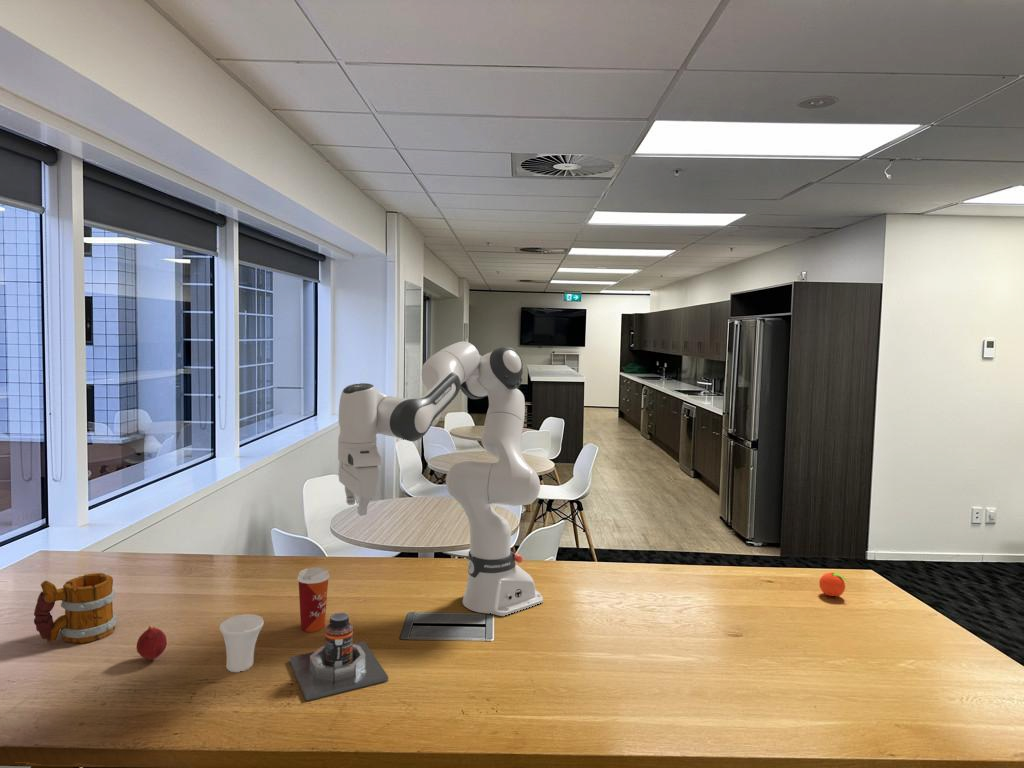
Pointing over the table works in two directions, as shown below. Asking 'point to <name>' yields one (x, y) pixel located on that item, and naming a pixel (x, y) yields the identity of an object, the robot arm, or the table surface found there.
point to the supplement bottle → (338, 641)
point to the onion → (151, 643)
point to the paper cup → (313, 598)
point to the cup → (240, 640)
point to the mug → (77, 609)
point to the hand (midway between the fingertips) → (356, 509)
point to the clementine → (832, 584)
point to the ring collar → (336, 672)
